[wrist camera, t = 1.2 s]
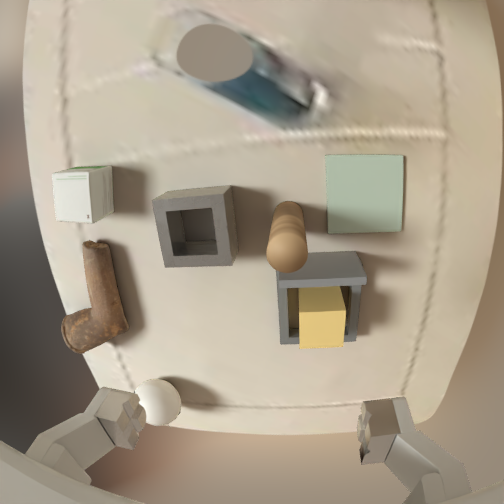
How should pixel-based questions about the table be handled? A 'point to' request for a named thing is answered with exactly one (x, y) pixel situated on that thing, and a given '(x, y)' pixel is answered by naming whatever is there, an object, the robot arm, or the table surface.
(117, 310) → the pipe
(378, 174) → the pad
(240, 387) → the table surface
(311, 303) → the block
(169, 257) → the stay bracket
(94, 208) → the small box
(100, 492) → the robot arm
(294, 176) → the table surface
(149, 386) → the white ovoid
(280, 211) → the rod
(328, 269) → the case
